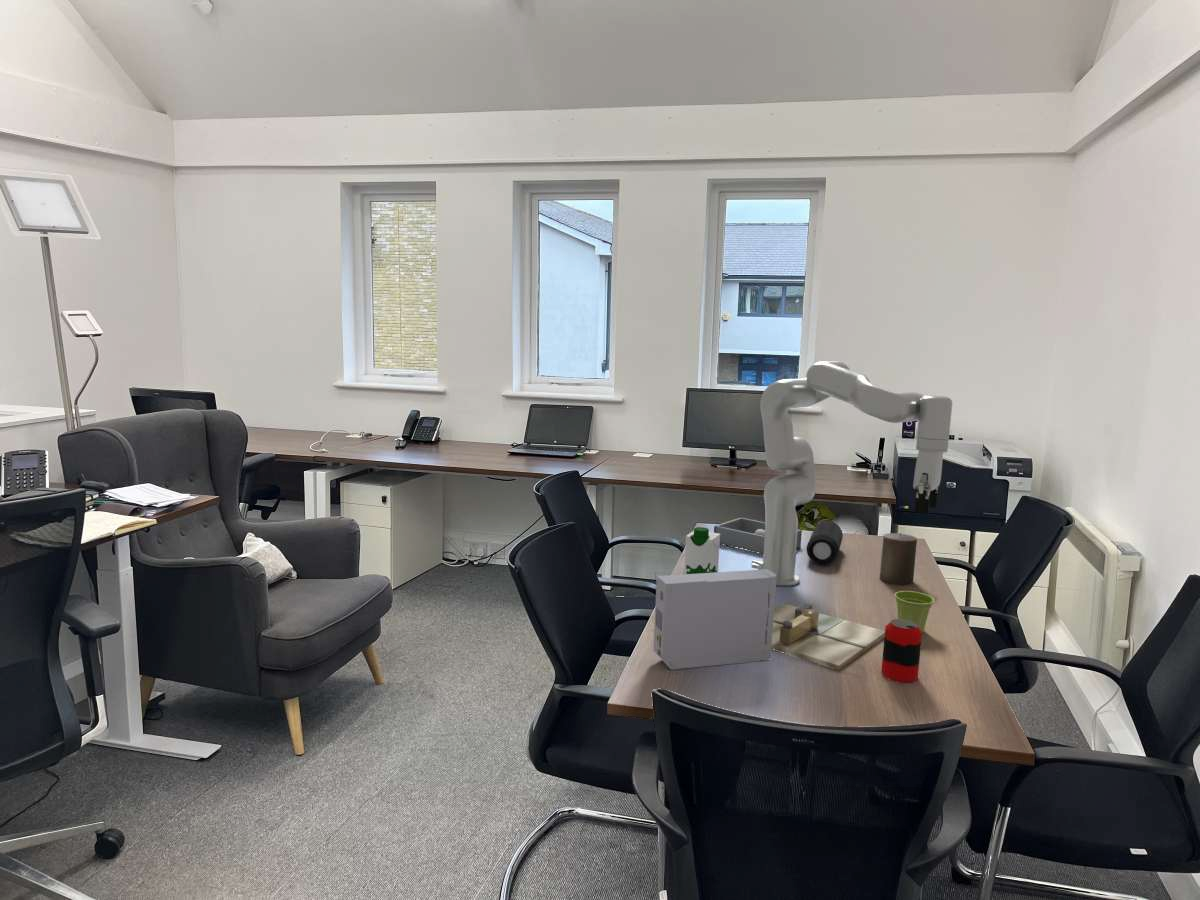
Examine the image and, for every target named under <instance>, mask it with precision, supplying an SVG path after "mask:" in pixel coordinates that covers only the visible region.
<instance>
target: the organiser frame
mask: <svg viewBox="0 0 1200 900" xmlns="http://www.w3.org/2000/svg"><path fill="white" fill-rule="evenodd" d="M758 529H763V530H765V521H759V520H757V519H750V518H745V517H739V518H735V519H731V520H728V521H726V522H723V523H719V524H717V525H714V526H713V533H719V534H720V544H724V545H723V546H725V545H728V546H727V547H729V546H732V547H731V548H733V547H738V548H743V549H747V550H750V551H749V552H751V551H754V552H753V553H755V552H759V553H763V550H764V536H762V535H757V534H754V533H755V532H756V530H758ZM802 530H803V529H799V528H798V533H797V547H796V548H797V549H798V548H800V547H802V546H801V545H802V533H803V532H802ZM720 544H719V545H720ZM738 548H737V549H738ZM759 553H758V554H759Z"/></svg>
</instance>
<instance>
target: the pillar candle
mask: <svg viewBox="0 0 1200 900" xmlns="http://www.w3.org/2000/svg"><path fill="white" fill-rule="evenodd" d="M882 536H883V537H882V538H883V539H882V549H881V555H880V556H881V557H880V570H879V571H880V572H879V579H880V581H882V582H884V583H887V584H891V585H895V584H897V585H898V586H909V585H908V584H910V585H912V584H913V583H914V577H915V566H916V556H917V555H916V554H917V543H918V538H917V537H916V536H915V535H914V536H913V535H911V534H906V533H902V532H899V533H898V532H896V533H895V532H890V533H883V534H882ZM911 583H912V584H911ZM897 585H896V586H897Z"/></svg>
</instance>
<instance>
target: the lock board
mask: <svg viewBox="0 0 1200 900" xmlns="http://www.w3.org/2000/svg"><path fill="white" fill-rule="evenodd" d="M805 609H811V610H813V604H810V603H804V604H802V605H800V606H796V605H795V606H794V605H791V604H787V603H782V604H781V605H779V606H777V607H776V608H775V607H774V620H773V634H772V649H775V650H778V651H781V652H784V653H787V654H790V655H789V656H791V655H793V656H792V657H794V656H795V657H794V658H797V657H798V658H797V659H800V658H801V660H803V659H805V660H804V661H807V660H808V662H810V661H811V662H810V663H813V662H814V664H816V663H817V665H821V666H822V667H823V666H824V667H826V668H829V669H832V670H835V671H840V670H842V668H844V667H845V666H847V665H848V664H850V663H851V662H852V661H854V660H855V659H856V658H858V657H859V656H861V655H862V654H863V653H865V652H866V651H867V650H869V649H870V648H872V647H873V646H874V645H876V644H877V643H879V642H880V641H881V640H884V636H885V630H882V629H879V628H875V627H871V626H868V625H864V624H861V623H857V622H853V621H849V620H845V619H843V618H838V617H835V616H831V615H827V614H825V613H822V612H821V613H820V612H819V617H818V630H817V631H813V632H809V633H807V634H806V635H804V636H802V637H801V638H799V639H797V640H796V641H794V642H793V643H791V644H789V645H788V644H785V643H781V642H779V641H780V627H781V626H782V625H783V621H791V620H793V619H795V618H797V617H798V616H800V615H802V610H805ZM871 646H872V647H871ZM775 650H774V651H775ZM778 651H777V652H778ZM781 652H780V653H781ZM784 653H783V654H784ZM787 654H786V655H787ZM860 654H861V655H860ZM853 659H854V660H853Z"/></svg>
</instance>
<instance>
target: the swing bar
mask: <svg viewBox="0 0 1200 900" xmlns="http://www.w3.org/2000/svg"><path fill="white" fill-rule="evenodd" d="M819 613H820V612H819V611H817V610H814V609H812V610H811V609H805V610H802V615H800V616H798V617H797V618H795V619H793V620H791V621H783V625H782V626H781V627H780V641H779V642H781V643H785V644H788V645H789V644H791V643H793V642H794V641H796V640H797V639H799V638H801V637H802V636H804V635H806V634H807V633H809V632H813V631H817V630H818V617H819Z"/></svg>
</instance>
